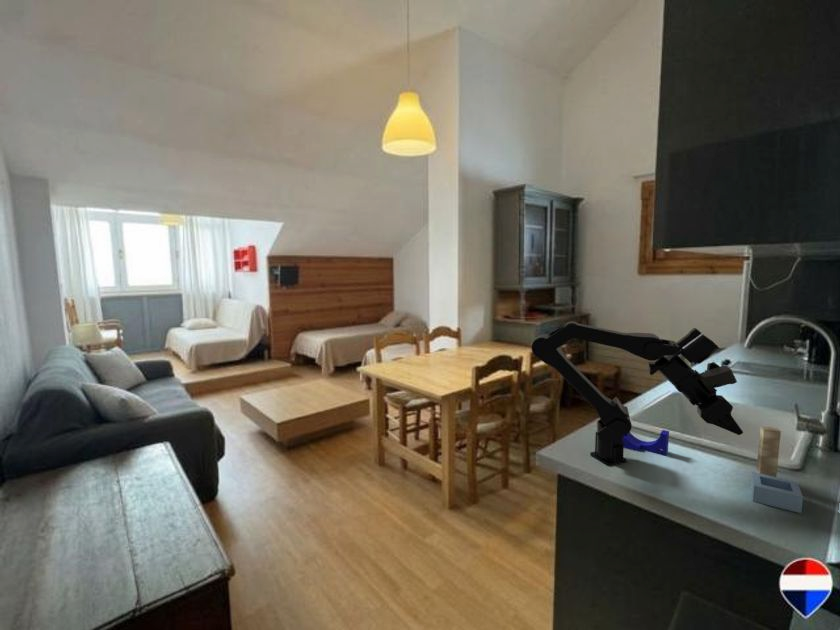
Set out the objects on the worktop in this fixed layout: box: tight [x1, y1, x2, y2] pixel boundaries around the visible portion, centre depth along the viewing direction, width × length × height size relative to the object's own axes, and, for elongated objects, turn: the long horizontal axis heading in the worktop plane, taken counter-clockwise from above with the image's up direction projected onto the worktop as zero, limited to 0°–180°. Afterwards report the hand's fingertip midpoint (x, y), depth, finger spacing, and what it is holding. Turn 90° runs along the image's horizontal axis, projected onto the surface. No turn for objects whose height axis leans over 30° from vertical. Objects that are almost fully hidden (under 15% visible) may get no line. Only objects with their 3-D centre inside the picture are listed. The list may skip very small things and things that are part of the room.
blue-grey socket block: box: [749, 471, 804, 514], centre depth 86 cm, size 8×7×4 cm
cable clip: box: [622, 429, 670, 456], centre depth 110 cm, size 12×4×6 cm, turn 49°
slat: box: [755, 425, 782, 477], centre depth 92 cm, size 3×2×13 cm, turn 67°
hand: (734, 426), depth 94 cm, fingers open, 9 cm apart
